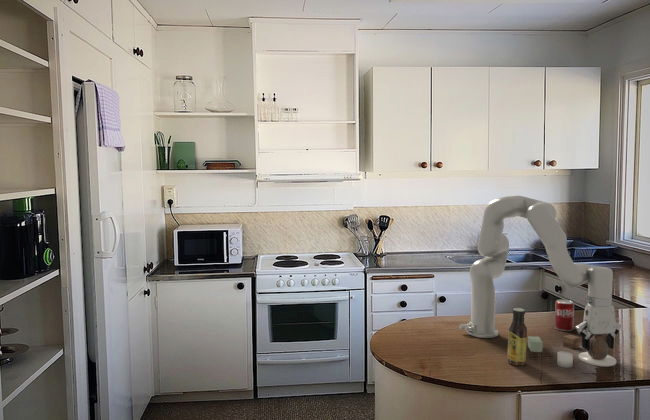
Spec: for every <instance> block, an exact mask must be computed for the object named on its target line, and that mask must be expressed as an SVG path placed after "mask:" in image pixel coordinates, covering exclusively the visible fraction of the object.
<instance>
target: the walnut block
mask: <svg viewBox="0 0 650 420" xmlns="http://www.w3.org/2000/svg"><path fill="white" fill-rule="evenodd" d="M562 339H563V340H562V346H563V347H564V348H568V349H570V350H574V349H578V348H580V337H579V336H576V335H573V334H567V335H563V337H562Z"/></svg>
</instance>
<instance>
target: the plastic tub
mask: <svg viewBox="0 0 650 420" xmlns="http://www.w3.org/2000/svg"><path fill="white" fill-rule="evenodd" d="M556 354H557V355H556V356H557V358H556V360H557V361H556V364H557V366H559V367H561V368H562V367H563V368H565V369H566V368H567V369H568V368H572V367H573V366H574V363H573V362H574V361H573V360H574V355H573V353H572V352H568V351H563V350H562V351H557V353H556Z"/></svg>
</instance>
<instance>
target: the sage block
mask: <svg viewBox="0 0 650 420" xmlns="http://www.w3.org/2000/svg"><path fill="white" fill-rule="evenodd" d="M543 344H544V343H543V341H542V339H541V337H540V336H531V335H530V336H529V335H527V347H528V349H529V350H530V352H534V353H543Z"/></svg>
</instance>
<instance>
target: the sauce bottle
mask: <svg viewBox="0 0 650 420" xmlns="http://www.w3.org/2000/svg"><path fill="white" fill-rule="evenodd" d="M525 315H526V310H525V309H524V308H521V307H515V308H513V309H512V322H511V324H510V326H509V328H508V333H507V335H508V338H507V357H506V358H507V362H508V363H509V364H511V365H513V366H524V365H526V361H527V360H526V359H527V347H528V328H527V326H526V324H525Z"/></svg>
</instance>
